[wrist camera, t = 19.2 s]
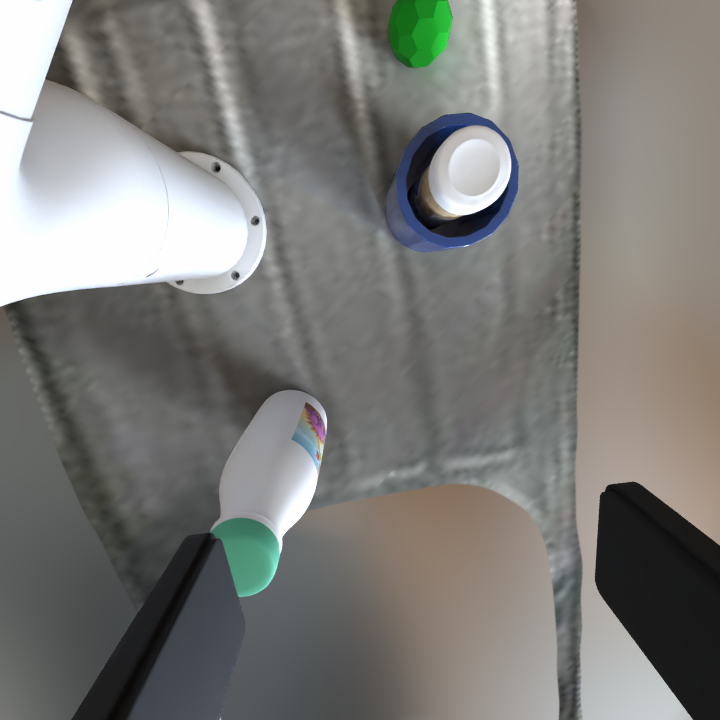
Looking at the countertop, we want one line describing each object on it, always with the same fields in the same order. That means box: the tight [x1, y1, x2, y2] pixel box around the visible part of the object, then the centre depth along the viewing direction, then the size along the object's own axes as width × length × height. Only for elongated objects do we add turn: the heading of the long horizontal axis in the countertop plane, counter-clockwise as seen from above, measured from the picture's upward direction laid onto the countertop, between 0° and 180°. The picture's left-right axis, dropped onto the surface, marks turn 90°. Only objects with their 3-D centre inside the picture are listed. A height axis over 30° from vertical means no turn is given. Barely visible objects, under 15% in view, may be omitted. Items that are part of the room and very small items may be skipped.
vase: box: [385, 113, 519, 252], centre depth 29 cm, size 8×8×10 cm
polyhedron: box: [389, 0, 453, 67], centre depth 28 cm, size 5×5×5 cm
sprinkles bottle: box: [407, 125, 511, 230], centre depth 26 cm, size 5×5×13 cm
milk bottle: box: [210, 390, 327, 597], centre depth 30 cm, size 8×8×20 cm
